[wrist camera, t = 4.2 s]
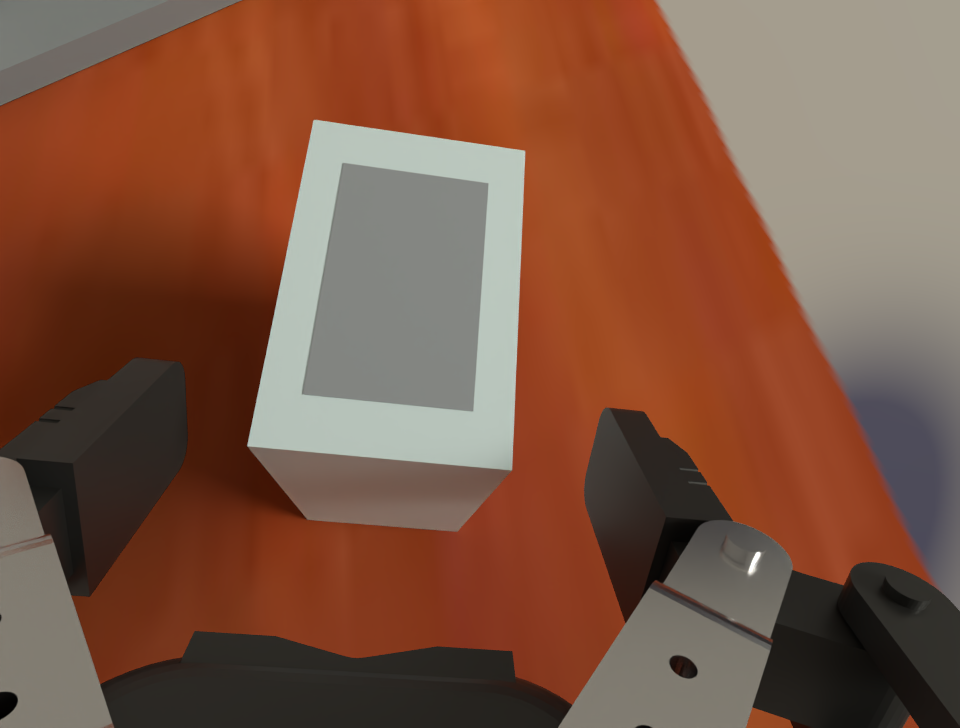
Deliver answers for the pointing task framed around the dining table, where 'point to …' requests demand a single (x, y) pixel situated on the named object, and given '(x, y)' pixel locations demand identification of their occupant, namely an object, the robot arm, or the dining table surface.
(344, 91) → the dining table surface
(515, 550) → the dining table surface
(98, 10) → the mounting board
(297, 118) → the dining table surface
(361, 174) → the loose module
